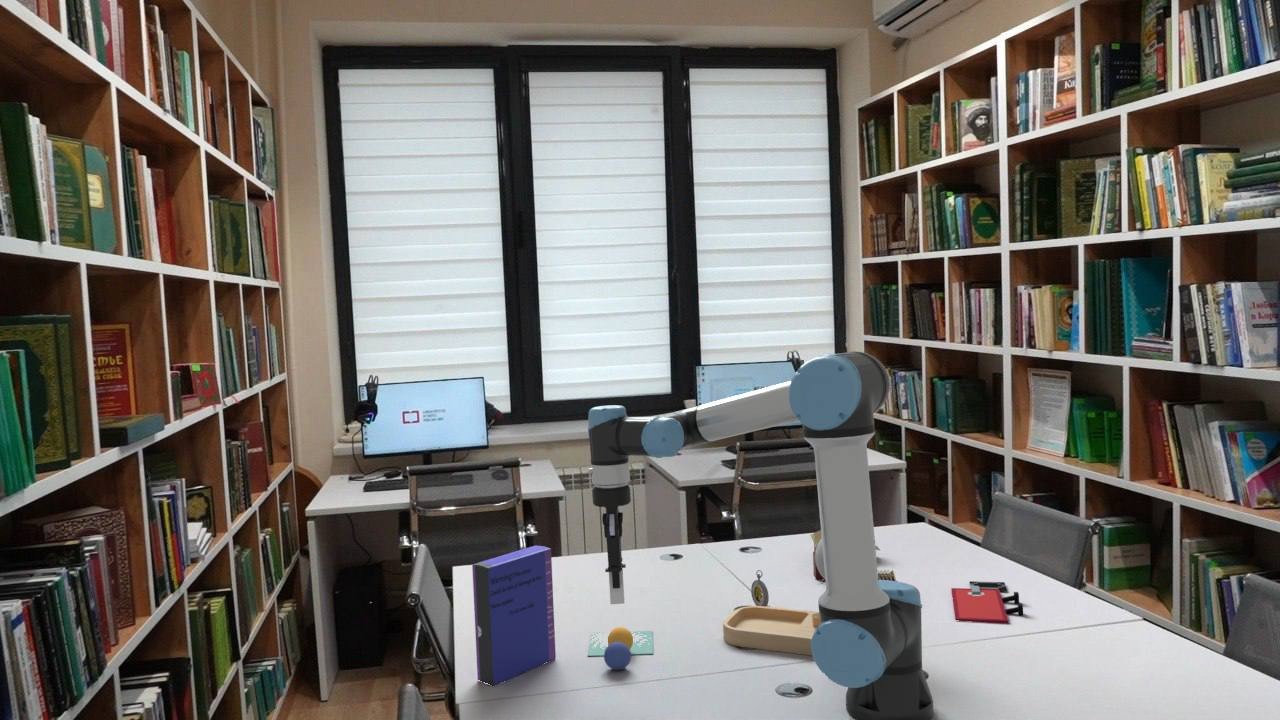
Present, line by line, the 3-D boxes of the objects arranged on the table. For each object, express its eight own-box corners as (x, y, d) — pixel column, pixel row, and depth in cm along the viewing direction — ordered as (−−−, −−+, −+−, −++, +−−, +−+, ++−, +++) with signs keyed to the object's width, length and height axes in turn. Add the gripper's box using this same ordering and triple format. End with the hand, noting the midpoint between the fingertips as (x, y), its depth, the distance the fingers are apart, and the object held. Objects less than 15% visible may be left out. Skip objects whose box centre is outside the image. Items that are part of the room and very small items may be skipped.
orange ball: (632, 638, 194) (632, 621, 199) (606, 638, 194) (607, 622, 199) (633, 659, 196) (633, 641, 201) (607, 659, 196) (608, 642, 201)
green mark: (653, 654, 196) (653, 653, 196) (587, 656, 196) (587, 655, 196) (652, 631, 210) (652, 630, 210) (591, 633, 210) (591, 632, 210)
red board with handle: (1012, 586, 235) (950, 584, 239) (1012, 575, 234) (949, 573, 239) (1026, 627, 206) (955, 624, 210) (1026, 615, 206) (955, 612, 210)
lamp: (716, 644, 201) (712, 530, 200) (741, 619, 217) (738, 513, 215) (869, 663, 187) (866, 540, 186) (884, 635, 203) (882, 521, 202)
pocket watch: (729, 616, 219) (727, 574, 219) (744, 605, 226) (742, 565, 226) (760, 621, 215) (759, 578, 214) (775, 610, 222) (773, 569, 221)
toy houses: (804, 555, 271) (803, 521, 271) (875, 554, 270) (874, 520, 269) (826, 604, 226) (824, 563, 226) (911, 602, 225) (910, 561, 225)
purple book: (539, 654, 199) (535, 544, 198) (555, 659, 196) (550, 547, 195) (477, 681, 185) (472, 563, 184) (493, 686, 182) (488, 567, 181)
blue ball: (629, 635, 190) (630, 654, 193) (603, 637, 190) (604, 655, 192) (631, 655, 185) (632, 674, 188) (604, 657, 185) (605, 676, 188)
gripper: (593, 479, 188) (600, 594, 189) (589, 491, 175) (596, 614, 176) (630, 477, 188) (636, 592, 189) (629, 489, 175) (636, 612, 176)
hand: (617, 602), depth 182 cm, fingers closed
